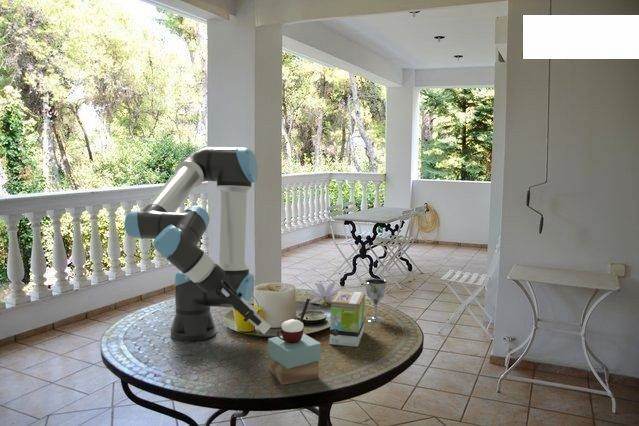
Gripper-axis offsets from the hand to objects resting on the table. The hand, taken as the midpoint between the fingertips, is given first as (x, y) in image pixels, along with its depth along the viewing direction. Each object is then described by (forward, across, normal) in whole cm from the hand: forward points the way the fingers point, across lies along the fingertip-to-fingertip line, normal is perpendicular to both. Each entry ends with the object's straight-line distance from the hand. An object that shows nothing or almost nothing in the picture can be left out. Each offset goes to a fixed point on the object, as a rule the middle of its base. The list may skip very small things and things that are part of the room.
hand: (260, 322), depth 141 cm
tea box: (+37, -20, +14) cm, 44 cm away
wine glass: (+50, -34, +27) cm, 66 cm away
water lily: (+42, -58, +19) cm, 74 cm away
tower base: (+18, +1, -5) cm, 19 cm away
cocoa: (+11, +1, +2) cm, 11 cm away
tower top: (+15, +1, -1) cm, 15 cm away
